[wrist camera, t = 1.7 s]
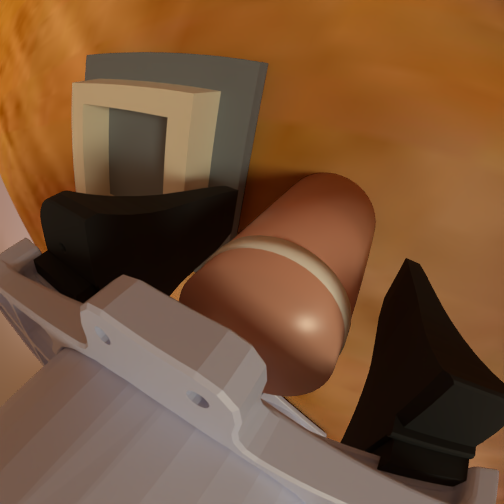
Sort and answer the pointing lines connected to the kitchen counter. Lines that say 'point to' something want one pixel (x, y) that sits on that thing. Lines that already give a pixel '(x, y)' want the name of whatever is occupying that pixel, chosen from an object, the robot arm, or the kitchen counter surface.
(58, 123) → the kitchen counter surface
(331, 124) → the kitchen counter surface
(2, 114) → the kitchen counter surface
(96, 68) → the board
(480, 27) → the kitchen counter surface
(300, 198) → the tube
